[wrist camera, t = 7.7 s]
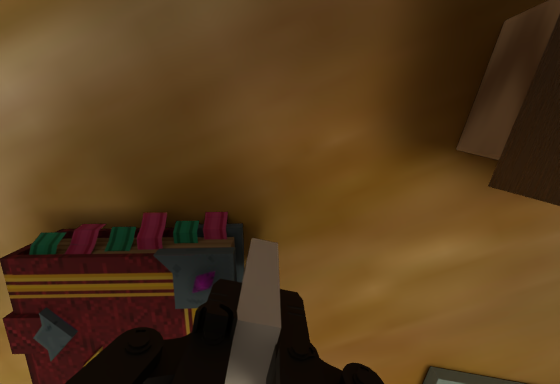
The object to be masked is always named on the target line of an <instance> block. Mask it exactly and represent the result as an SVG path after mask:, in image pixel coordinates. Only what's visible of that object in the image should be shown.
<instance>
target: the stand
mask: <svg viewBox="0 0 560 384" xmlns="http://www.w3.org/2000/svg"><path fill="white" fill-rule="evenodd" d="M559 14H560V0H548V1H546V2H544V3H542V4H540V5H537V6H535V7H533V8H531V9H529V10H527V11H525V12H522V13H520V14H518V15H516V16H514V17H512V18H509V19H507V20H505V21H504V24H503V27H502V29H501V32H500V35H499V37H498V40H497V43H496V45H495V48H494V51H493V53H492V56H491V58H490V61H489V64H488V66H487V69H486V72H485V74H484V77H483V80H482V82H481V85H480V88H479V90H478V93H477V96H476V98H475V101H474V104H473V106H472V109H471V112H470V114H469V117H468V119H467V122H466V125H465V127H464V130H463V133H462V135H461V138H460V141H459V143H458V146H457V149H456V150H459V151H463V152H467V153H471V154H475V155H479V156H483V157H488V158H492V159H496V160H499V159H500V156H501V154H502V151H503V149H504V147H505V144H506V142H507V139H508V137H509V135H510V132H511V130H512V127H513V125H514V122H515V120H516V118H517V115H518V113H519V110H520V108H521V106H522V103H523V101H524V98H525V96H526V94H527V91H528V89H529V86H530V84H531V82H532V79H533V77H534V74H535V72H536V70H537V67H538V65H539V62H540V60H541V58H542V55H543V53H544V50H545V48H546V46H547V43H548V41H549V38H550V36H551V34H552V31H553V29H554V26H555V24H556V21H557V19H558V17H559Z"/></svg>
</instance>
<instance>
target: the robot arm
mask: <svg viewBox="0 0 560 384" xmlns="http://www.w3.org/2000/svg"><path fill="white" fill-rule="evenodd" d="M65 384H384V383H383V381H382V380H381V378H380V377H379V376H378V375H377V374H376V373H375V372H374V371H373V370H371V369H370V368H369V367H367V366H364V365H362V364H359V363H350V364H347V365H346V366H345V367H344V368H343V371H342V370H340V369H338V368H336V367H333V366H331V365H329V364H327V363H326V362H324V361H323V360H321V359H320V358H319V355H318V353H317V350H316V348H315V347H314V346H313V345H312V344H311V343H310V339H309V333H308V328H307V322H306V317H305V310H304V304H303V300H302V298H301V297H300V296H299V294H298V293H297V292H292V291H287V290H282V289H280V284H279V258H278V243H275V242H270V241H266V240H261V239H256V238H252V239H251V243H250V248H249V252H248V257H247V261H246V266H245V270H244V275H243V279H242V283H241V282H236V281H231V280H226V279H221V278H220V279H219V280H218V281H217V282H215V283H214V284H213V286H212V289H211V292H210V294H209V297H208V300H207V302H206V303H204V304H202V305H200V306H199V307H198V308H197V310H196V312H195V317H194V323H193V328H192V332H191V333H189V334H188V335H186V336H183V337H180V338H175V339H164V340H163V337H162V335H161V334H160V332H158V331H157V330H155V329H153V328H148V327H138V328H133V329H130V330H127V331H126V332H124V333H122V334H121V335H119V336H118V337H117V338H116V339H115V340H114V341H112V342H111V343H110V344H109V345H108V346H107V347H106V348H104V349H103V350H102V351H101V352H100V353H99V354H98V355H96V356H95V357H94V358H93V359H92V360H91V361H90V362H89V363H87V364H86V365H85V366H84V367H83V368H82V369H81V370H79V371H78V372H77V373H76V374H75V375H74V376H73V377H71V378H70V379H69V380H68V381H67V382H66V383H65Z"/></svg>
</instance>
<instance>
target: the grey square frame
mask: <svg viewBox="0 0 560 384" xmlns="http://www.w3.org/2000/svg"><path fill="white" fill-rule="evenodd" d="M488 186H489V187H492V188H496V189H500V190H503V191H507V192H511V193H514V194H518V195H522V196H525V197H529V198H533V199H536V200H540V201H544V202H547V203H551V204H554V205H558V206H560V14H559V17H558V19H557V21H556V24H555V26H554V29H553V31H552V34H551V36H550V38H549V41H548V43H547V46H546V48H545V50H544V53H543V55H542V58H541V60H540V62H539V65H538V67H537V70H536V72H535V74H534V77H533V79H532V82H531V84H530V86H529V89H528V91H527V94H526V96H525V98H524V101H523V103H522V106H521V108H520V110H519V113H518V115H517V118H516V120H515V122H514V125H513V127H512V130H511V132H510V135H509V137H508V139H507V142H506V144H505V147H504V149H503V151H502V154H501V156H500V159H499V161H498V163H497V166H496V168H495V171H494V173H493V175H492V178H491V180H490V183H489V185H488Z"/></svg>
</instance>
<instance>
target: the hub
mask: <svg viewBox="0 0 560 384" xmlns="http://www.w3.org/2000/svg"><path fill="white" fill-rule="evenodd" d="M423 384H525V383H519V382H514V381H508V380H502V379H497V378H491V377H486V376H480V375H475V374H469V373H464V372H458V371H453V370H447V369H442V368H436V367H431V366H430V368H429V371H428V373H427V375H426V378H425V380H424V382H423Z"/></svg>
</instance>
